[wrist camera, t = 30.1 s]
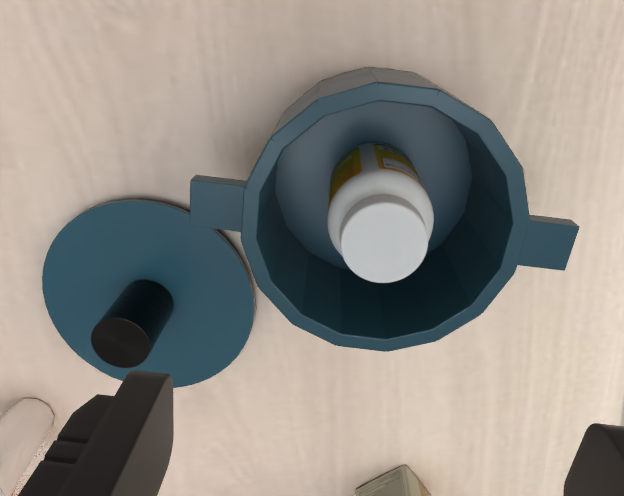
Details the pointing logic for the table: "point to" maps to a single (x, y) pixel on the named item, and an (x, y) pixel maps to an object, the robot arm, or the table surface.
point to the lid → (148, 292)
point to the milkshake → (21, 439)
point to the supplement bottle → (379, 213)
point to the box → (394, 485)
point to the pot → (438, 184)
